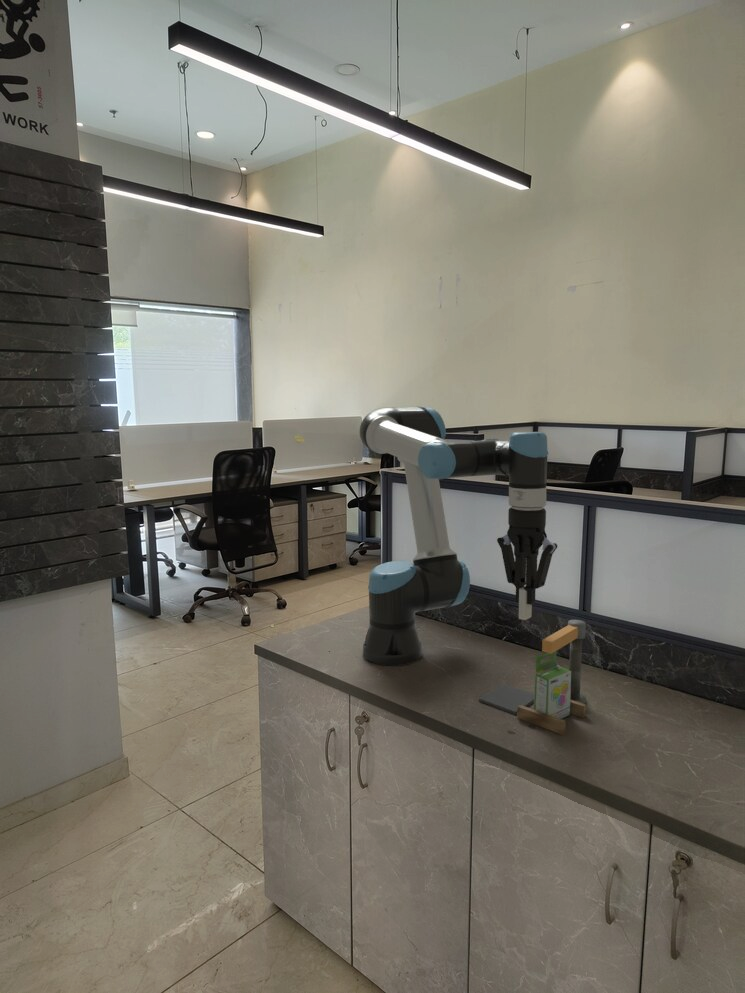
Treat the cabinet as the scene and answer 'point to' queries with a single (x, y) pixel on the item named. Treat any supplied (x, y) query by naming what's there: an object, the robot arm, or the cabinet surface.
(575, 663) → the dock
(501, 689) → the pad
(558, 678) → the ink box
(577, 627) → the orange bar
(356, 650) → the cabinet surface
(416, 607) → the robot arm
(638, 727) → the cabinet surface
